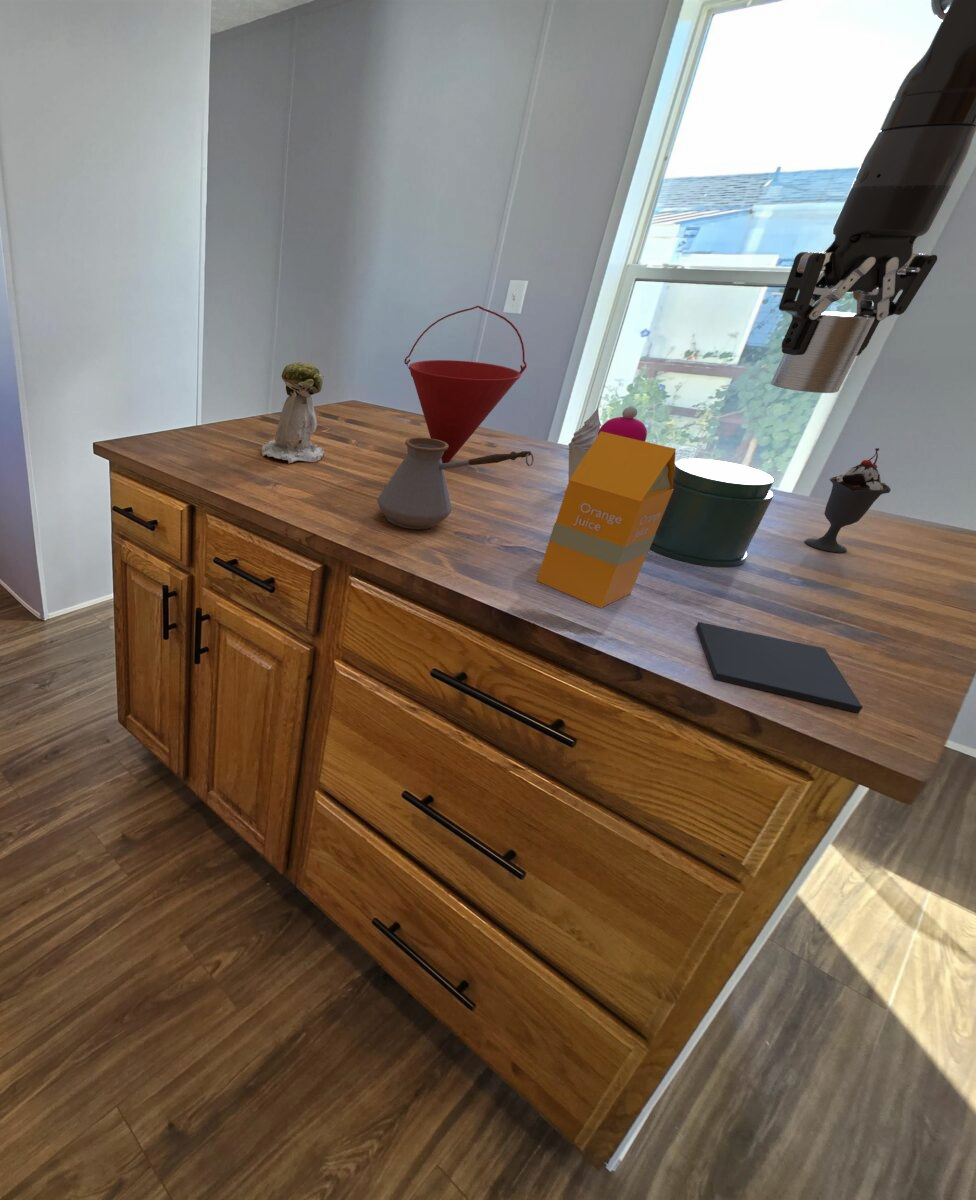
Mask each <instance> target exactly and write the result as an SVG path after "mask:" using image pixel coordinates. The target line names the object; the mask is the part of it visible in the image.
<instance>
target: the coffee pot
mask: <svg viewBox="0 0 976 1200" xmlns="http://www.w3.org/2000/svg"><path fill="white" fill-rule="evenodd" d="M404 444H405V446H406V452H407V453H406V455H405V457H404V458H403V460H402V461H401V463H400V464H399V466H398V467H397V468H396V470H395V472H394V473H393V474H392V476H391V477H390V480H388V482H387V483H386V485H385V486H384V488H383V490H382V491H381V492H380V494H379V496H378V498H377V505H378V508H379V511H380V512H381V513H382V514H383V515H384V516H385V518H386V520H387V521H388V522H389V523H391V524H393V525H395V526H397V527H400V528H404V529H411V530H427V529H431V528H433V527H434V526H436V525H438V524H440V523H441V522H443V521H445V520H446V519H447V518H448V517H449V515H450V514H451V513H452V508H453V506H452V502H451V498H450V497H451V496H450V492H449V488H448V483H447V478H446V474H445V470H448V469H455V468H460V467H466V466H477V465H479V466H480V465H489V464H498V463H500V462H501V463H502V462H504V461H509V460H512V461H515V460H516V459H518V458H522V459H523V458H525V463H526V465H527V466H528V467H532V465H534V459H535V458H534V455H533V453H532V452H531V450H521V451H520V452H516V451H514V450H513V451H511V452H510V453H494V454H489V455H485V456H479V457H474V458H471V459H466V460H460V461H458V460H457V461H450V462H449V463H442V459H441V457H442V455H443V453H444V451H445V450H447V449H448V447H449V445H448V444H447V443H445V442H443V441H440V440H436V439H431V437H411V438H407V439H405V441H404ZM529 456H531V463H529V461H528V457H529Z"/></svg>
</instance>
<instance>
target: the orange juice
mask: <svg viewBox="0 0 976 1200" xmlns="http://www.w3.org/2000/svg"><path fill="white" fill-rule="evenodd" d="M676 450H677V448H674V447H670V446H665V445H661V444H656V443H653V442H649V441H645V442H644V441H640V440H636V439H631V438H627V437H623V436H619V435H614V434H610V433H606V432H600V434H599V435H598V437H597V438H596V440H595V441H594V443H593V444H592V446H591V447H590V449H589V450H588V452H587V453H586V455H585V457H584V458H583V460H582V461H581V463H580V464H579V466H578V467H577V469H576V470H575V472H574V473H573V475H572V476H571V478H570V480H569V479H568V482H569V483H567V485H566V486H567V487H566V490H565V492H564V496H563V499H562V501H561V504H560V508H559V511H558V514H557V517H556V519H555V522H554V524H553V527H552V530H551V533H550V536H549V539H548V544H547V547H546V549H545V553H544V557H543V560H542V563H541V566H540V568H539V572H538V575H537V577H536V582H537V583H541V584H544V585H546V586H548V587H550V588H552V589H554V590H557V591H559V592H562V593H564V594H567V595H569V596H571V597H574V598H576V599H578V600H580V601H583V602H586V603H588V604H590V605H592V606H595V607H596V608H599V609H602V608H604V607H606V606H608V605H610V604H612V603H614V602H617V601H618V600H620V599H623V598H624V597H627V596H629V595H631V593H632V592H633V589H634V586H635V584H636V581H637V579H638V577H639V574H640V572H641V570H642V567H643V565H644V562H645V560H646V557H647V555H648V553H649V551H650V550H651V549H650V547H651V544H652V542H653V539H654V537H655V535H656V534H655V533H656V531H657V529H658V526H659V524H660V521H661V519H662V516H663V514H664V512H665V509H666V507H667V504H668V502H669V500H670V497H671V495H672V492H673V490H674V489H673V479H674V465H675V462H676Z"/></svg>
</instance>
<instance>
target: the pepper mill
mask: <svg viewBox="0 0 976 1200" xmlns="http://www.w3.org/2000/svg"><path fill="white" fill-rule="evenodd" d="M637 415H638V409H637V408H636V407H635V406H627V407H625V408H624V409H623V411H622V416H617V417H612V418H610V419H609V420H607V421H605V422H604V423H603V424H601V426H600V430H599V432H598V435H599V434H600V432H606V433H610V434H614V435H619V436H623V437H627V438H631V439H636V440H640V441H644V442H646V440H647V436H648V431H647V426H645V424H644V423H643V422H642V421H641V420H639V419H638V418H636V417H637ZM597 437H598V436H597Z"/></svg>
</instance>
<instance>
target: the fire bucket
mask: <svg viewBox="0 0 976 1200" xmlns="http://www.w3.org/2000/svg"><path fill="white" fill-rule="evenodd" d="M475 309H480V310H482V311H484V312H487V313H489V314H492V315H495V316H497V317H498V318H500V319H502V320H504V321H505V322H506V323H508V324H509V325H510V326H511V327H512V328H513V330H514V331H515V333H516V335H517V336H518V338H519V342H520V344H521V351H522V363H523V365H522V364H519V365H520V370H519V371H518V370H516V369H513V368H510V367H507V366H502V365H498V364H494V363H493V364H491V363H487V362H479V361H467V360H454V359H435V360H434V359H431V360H420V361H414V362H412V363H411V359H410V357H411V355H412V353H413V351H414V349H415V347H416V346H417V344H418V343H419V341H420V340H421V339H422V337H423V336H424V335H425V333H427V332H428V330H430V329H431V328H432V327H433V326H435V325H436V324H437V323H439V322H441V321H442V320H445V319H447V318H449V317H451V316H454V315H457V314H460V313H464V312H467V311H472V310H475ZM525 356H526V355H525V345H524V342H523V339H522V336H521V334H520V332H519V330H518V328H517V327H516V326H515V325H514V323H512V322H511V321H510V320H509V319H507V318H506V317H505V316H503V315H501V314H499V313H497V312H495V311H492V310H489V309H487V308H484V307H482V306H481V305H476V306H473V307H470V308H465V309H461V310H458V311H455V312H452V313H449V314H447V315H445V316H443V317H441V318H439V319H437V320H436V321H434V322H433V323H431V324H430V325H429V326H428V327H427V328H426V329H425V330H424V331H423V332H422V333H421V334H420V335H419V337H418V338H417V339H416V341H415V342H414V344H413V346H412V348H411V349H410V352H409V354H408V355H407V356H406V357H405V358H404V361H403V362H404V365H406V366H407V368H408V370H409V373H410V377H412V380H413V384H414V387H415V390H416V393H417V397H418V399H419V403H420V407H421V410H422V413H423V417H424V421H425V424H426V427H427V430H428V434H429V438H431V439H436V440H440V441H443V442H445V443H447V444H448V445H449V447H448V449H447V450H445V451H444V453H443V455H442V457H441V459H442V463H450V462H451V460H452V459H453V458H454V457H455V456H456V455H457V454H458V452H459V451H460V450H461V448H462V447H463V446H464V445H465V444H466V442H467V441H468V440H469V439H470V438H471V436H473V434H474V433H475V431H476V430H477V429H479V427H480V426H481V424H482V423H483V422H484V421H485V420H486V419H487V417H488V416H489V414H491V412H492V411H493V410H494V409H495V407H497V406H498V404H499V402H500V401H502V399H503V398H504V397H505V395H507V393H508V392H509V391H510V390H511V388H512V387H513V386H514V385H515V384H516V382H518V380H519V379H520V378H521V377H522V374H523V373H524V372H525V370H526V369H527V366H528V365H527V363H526V360H525V358H526V357H525ZM408 358H409V359H408ZM409 363H410V364H409ZM408 364H409V365H408Z"/></svg>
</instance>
